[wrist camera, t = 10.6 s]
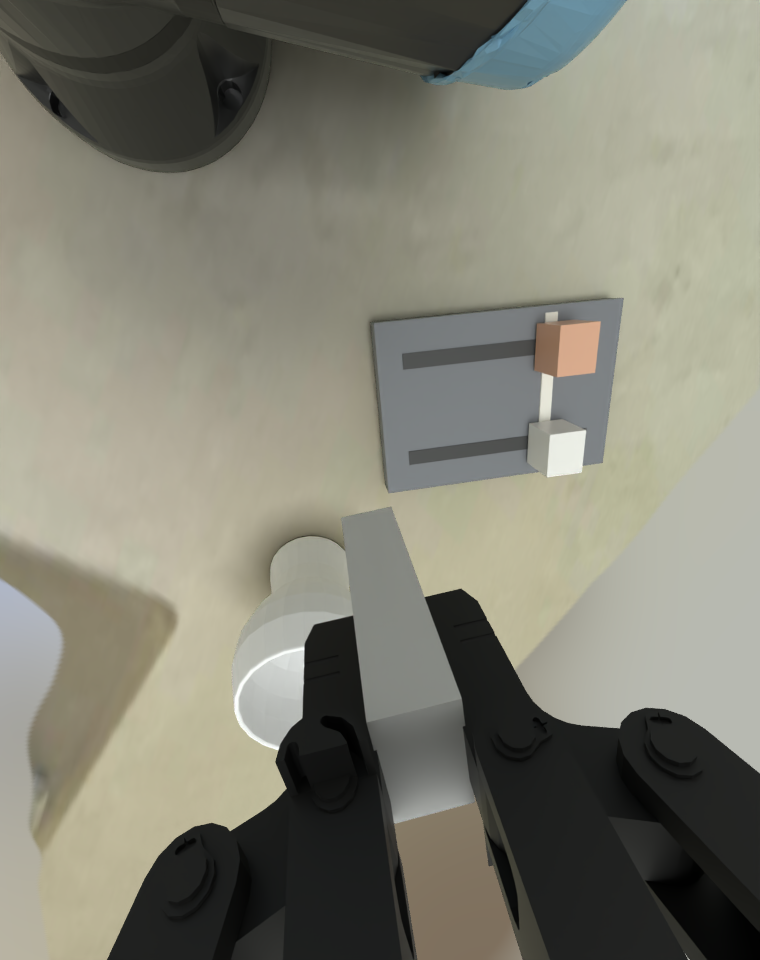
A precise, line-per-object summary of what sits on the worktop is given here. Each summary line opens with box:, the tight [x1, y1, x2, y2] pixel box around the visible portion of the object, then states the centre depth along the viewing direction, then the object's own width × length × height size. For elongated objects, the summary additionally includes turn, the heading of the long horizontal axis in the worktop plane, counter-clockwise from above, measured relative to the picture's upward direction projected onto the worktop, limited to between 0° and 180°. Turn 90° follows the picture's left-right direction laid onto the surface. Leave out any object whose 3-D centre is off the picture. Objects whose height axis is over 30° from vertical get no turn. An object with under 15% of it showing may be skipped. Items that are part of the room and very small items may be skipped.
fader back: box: [527, 419, 586, 477], centre depth 35 cm, size 4×3×4 cm
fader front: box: [534, 320, 601, 377], centre depth 32 cm, size 4×3×4 cm
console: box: [370, 298, 624, 493], centre depth 36 cm, size 14×20×2 cm
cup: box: [232, 536, 353, 750], centre depth 34 cm, size 11×11×15 cm
